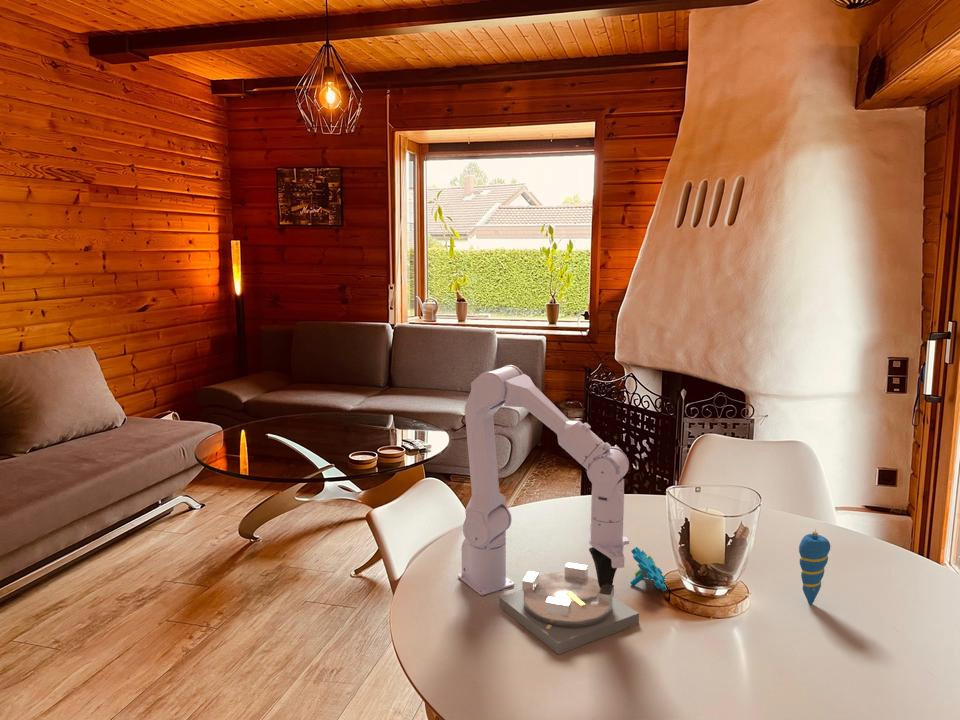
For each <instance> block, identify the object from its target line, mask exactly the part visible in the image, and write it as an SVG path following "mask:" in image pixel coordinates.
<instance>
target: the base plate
mask: <svg viewBox="0 0 960 720" xmlns="http://www.w3.org/2000/svg"><path fill="white" fill-rule="evenodd" d="M498 597H499V602H498V603H499V606H498V607H499V608H500V609H502V610H503V611H504V612H505V613H507V614H508V615H509V617H511V618H513V619H514V620H515V621H516V622H518V623H519V624H520V625H521V626H522V627H524V628H525V629H526V630H528V631H529V632H530V633H531V634H532V635H534V636H535V637H536V638H537V639H538V640H540V641H541V642H542V643H544V644H545V645H546V646H547V647H548V648H549V649H551V650H552V651H553V652H554V653H556V654H557V655H560V654H563V653H566V652H568V651H571V650H573V649H576V648H578V647H581V646H584V645H586V644H590V643H592V642H595V641H597V640H600V639H602V638H604V637H607V636H610V635H613V634H615V633H618V632H621V631H622V630H626V629H627V628H630V627H634V626H636V625H638V624H640V623H639V622H640V612H638V611H637V610H635V609H633V608H632V607H630V606H629V605H628V604H625V603H624V602H622V601H620V600H619V599H618V598H616V597H614V596H613V599H612V611H611V613H610V615H609V616H608V617H607V618H606V619H604V620H602V621H601V622H598V623H596V624H593V625H589V626H583V627H563V626H556V625H552V624H548V623H545V622H543V621H540V620H538V619H536V618H535V617H533V616H532V615H531V614H530V613H529V612H528V611H527V610H526V608H525V606H524V591H522V589H520V590H517V591H513V592H511V593H506V594H504V595H502V596H498Z"/></svg>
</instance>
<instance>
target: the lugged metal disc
mask: <svg viewBox="0 0 960 720" xmlns="http://www.w3.org/2000/svg"><path fill="white" fill-rule="evenodd" d="M588 570H589V565H587V564H581V563H580V564H579V563H575V562H574V563H573V562H566V563H565V566H564V572H552V573H551V572H550V573H546V574H543V575H540V574H539V572H536V571H531V570H528V571H527V572H526V574H525V576H524V577H523V579H522V584H521V585H522V589H521V590H522V591H524V606H525V608H526V610H527V611H528V612H529V613H530V614H531V615H532V616H533V617H535V618H536V619H538V620H540V621H543V622H545V623H548V624H552V625H556V626H563V627H583V626H589V625H593V624H596V623H598V622H601V621H602V620H604V619H606V618H607V617H608V616H609V615H610V613H611V611H612V599H613V597H614V596H615V595H614V594H615V593H614V592H615V586H614V585H615V584H606V583H603V584H602V587H601V589H600V587H599V584H598V579H597V578H595V577H591V576H589V575H588Z"/></svg>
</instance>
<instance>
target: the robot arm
mask: <svg viewBox="0 0 960 720" xmlns="http://www.w3.org/2000/svg"><path fill="white" fill-rule="evenodd" d="M470 389H471V391H470V393H469V395H468V397H467V400H466V402H465V406H464V418H465V427H466V430H465V431H466V438H467V439H466V441H467V442H466V443H467V451H468V452H467V453H468V463H469V465H468V466H469V477H470V487H471V496H470V499H469V501H468V503H467V506H466V507H465V511H464V513H465V518H464V522H463V524H462V533H463V534H462V535H463V537H464V539H463V541H462V544H461V549H460V550H461V573H458V574H457V577H458V578H459V579H460V580H461V581H463V583H465V584H466V585H468V586H469V587H470V588H471V589H472V590H473V591H475V592H476V593H477V594H479V595H480V596H484V595H488V594H491V593H494V592H499V591H501V590H505V589H507V588H510V587H513V586H514V587H515V582H514V581H512V580H511V579H510V578H509V577H507V574H506V573H507V569H506V567H507V565H506V563H507V561H506V560H507V559H506V558H507V554H506V553H507V551H506V550H507V549H506V548H507V547H506V546H507V545H506V544H507V542H506V540H507V538H506V536H507V530H508V529H509V528H510V526H511V525H512V519H513V518H512V514H511V511H510V509H509V508H508V505H507V498H506V496H504V495H503V494H502V493H501V492H500V484H499V483H500V482H499V471H498V460H497V446H496V434H495V433H496V432H495V421H494V419H495V418H494V415H495V413H496V412H498V410H499V409H500V408H501V407H503V406H504V407H511V408H512V407H513V408H524V409H525V410H527V411H528V412H529V413H530V414H532V415H533V416H534V417H535V418H537V420H539V421H540V422H542V423H543V425H545V426H546V427H547V428H549V429H550V430H551V431H553V432H554V433H555V434H556V436H557V443H558V446H560V447H561V448H562V449H563V450H565V452H567V453H568V454H569V455H570V456H571V457H572V458H573V459H575V461H576V462H578V463H579V464H580V465H581V466H583V468H585V469H586V475H587V478H588V480H589V481H590V482H591V502H590V503H591V505H590V527H589V530H590V531H589V539H588V540H589V545H590V547H589V548H588V551H589V553H590V555H591V557H592V560H593V563H594V567H595V572H596V577H597V578H596V579H597V580H598V584H599V587H600V589H601V587H602V584H603V583H606V584H612V585H614V584H613V583H614V579H615V575H616V573H617V572H616V571H618V570H617V569H623V568H625V555H624V546H625V545H629V544H630V539H629V538H628V537H627V536H624V515H625V514H624V513H625V512H624V509H625V507H624V506H625V478H624V477H625V476H626V474H627V473H628V471H629V468H630V461H629V457H627V454H625V452H623V449H621V448H619V447H616V446H612V445H611V444H610V443H609V442H607V441H606V442H604V441H603V439H601V438H600V437H599V436H598V435H597V434H596V433H594V432H593V431H592V430H591V428H592V427H591V425H590V424H589V423H587V422H584V423H583V422H582V421H581V420H570V419H569V418H568V417H567V416H566V415H565V414H564V413H563V412H562V411H561V410H560V409H559V408H558V407H557V406H556V405H555V404H554V403H553V402H552V401H551V400H550V399H549V398H548V397H547V396H546V395H545V394H544V393H543V392H542V391H540V389H539V388H538V387H537V386H536V385H535V383H534V382H533V380H532V379H531V377H530V376H528V375H527V374H525V373H523V371H522V370H521V369H520V368H519V367H518V366H516V365H512V364H506V365H504V366H502V367H500V368H496V369H494V370H491V371H485V372H482V373H480V374H479V375H478V376H477V377H476V378H475V379H474V380H473V381H472V382H471V383H470Z"/></svg>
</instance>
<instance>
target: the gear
mask: <svg viewBox="0 0 960 720" xmlns="http://www.w3.org/2000/svg"><path fill="white" fill-rule="evenodd" d="M631 553H632V554H633V555H632V559H633V560H635V562H637V563H638V564H637V566H638V568H639V569H638V570H637V571H636V572H635V573H634V574H635V578H633V579H632V580H631V581H630V585H631V586H632V587H635V586H636V585H638V584H639V583H640V582H641V581H642V580H643V579H648V581H654V582H653V584H654V586H655V587H656V588H657V589H661V590H662V592H664V591H665V590H666V589H667V588H666V585H665V584H664V581H665V580H664V579H665V578H666V576H664V574H663V571H662V569H661V568H660V567H658V566H657V565H656V562H655V561H654V558H653V557H652V556H651V555H648V554H647V553H646V552H645V551H644V550H641V549H640V548H639V547H638V546H635V547H634V548H633V549H632V550H631Z"/></svg>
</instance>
